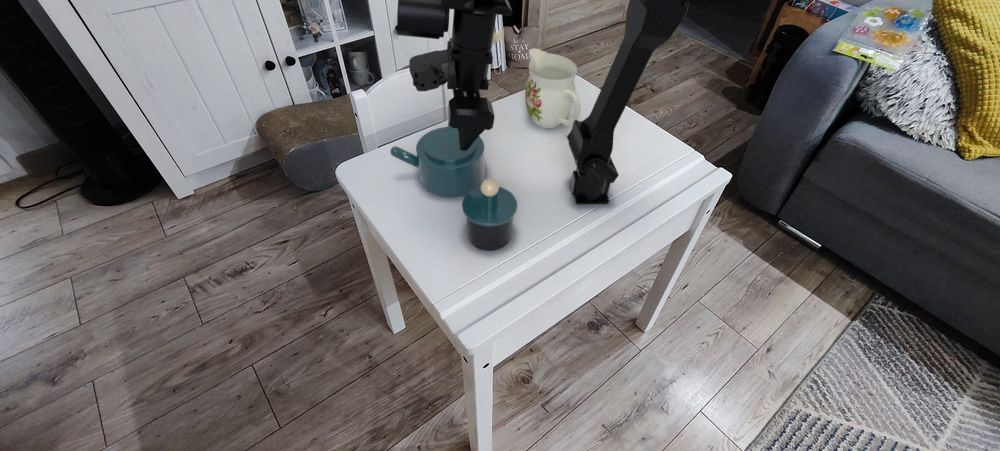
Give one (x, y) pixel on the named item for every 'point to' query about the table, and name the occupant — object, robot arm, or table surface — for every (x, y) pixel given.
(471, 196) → the teapot lid
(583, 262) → the table surface
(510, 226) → the tea tin
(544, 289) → the table surface
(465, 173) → the teapot
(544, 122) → the pitcher
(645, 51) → the robot arm
